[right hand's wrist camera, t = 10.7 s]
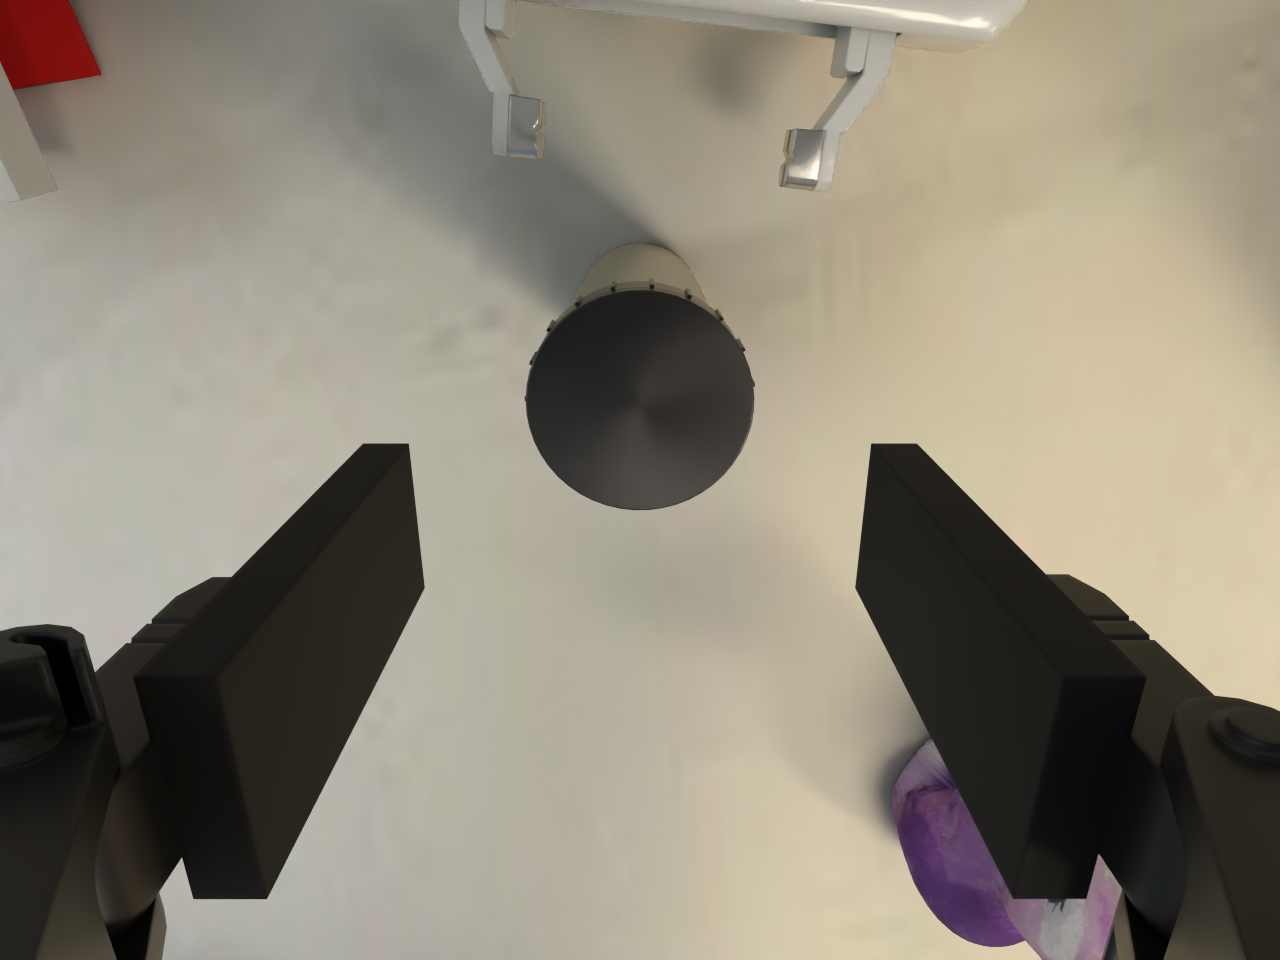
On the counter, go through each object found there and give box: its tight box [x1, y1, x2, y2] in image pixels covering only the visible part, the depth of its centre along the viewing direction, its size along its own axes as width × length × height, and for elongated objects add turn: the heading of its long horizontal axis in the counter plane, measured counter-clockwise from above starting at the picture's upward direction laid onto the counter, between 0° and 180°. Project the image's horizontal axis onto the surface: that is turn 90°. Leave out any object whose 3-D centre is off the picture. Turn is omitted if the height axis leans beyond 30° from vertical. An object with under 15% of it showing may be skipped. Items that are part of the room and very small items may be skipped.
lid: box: [525, 278, 755, 510], centre depth 21 cm, size 6×6×2 cm
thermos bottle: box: [572, 243, 708, 305], centre depth 27 cm, size 5×5×15 cm
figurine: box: [892, 739, 1122, 960], centre depth 36 cm, size 9×10×15 cm
